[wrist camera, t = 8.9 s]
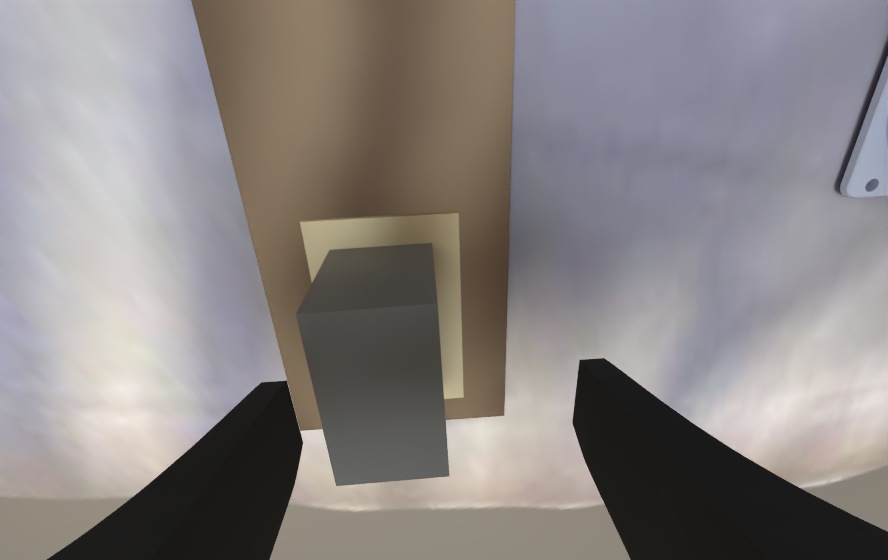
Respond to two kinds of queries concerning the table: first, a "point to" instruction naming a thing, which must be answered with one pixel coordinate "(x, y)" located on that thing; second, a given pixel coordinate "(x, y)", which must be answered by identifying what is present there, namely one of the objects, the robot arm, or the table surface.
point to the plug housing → (377, 363)
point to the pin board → (375, 159)
